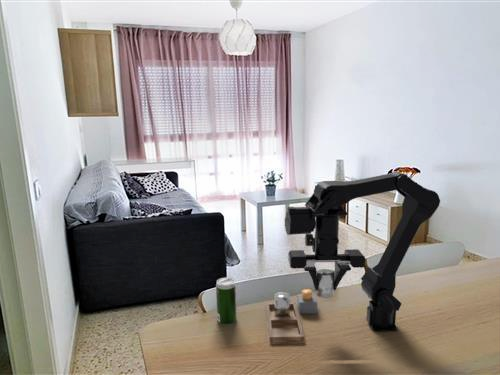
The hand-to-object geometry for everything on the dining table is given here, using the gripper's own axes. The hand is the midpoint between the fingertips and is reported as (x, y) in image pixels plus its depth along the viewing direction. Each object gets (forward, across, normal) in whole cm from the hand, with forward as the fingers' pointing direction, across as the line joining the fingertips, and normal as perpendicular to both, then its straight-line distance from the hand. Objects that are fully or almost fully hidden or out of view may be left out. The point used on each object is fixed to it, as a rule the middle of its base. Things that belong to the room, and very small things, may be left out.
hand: (325, 289), depth 100 cm
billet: (+1, 0, 0) cm, 1 cm away
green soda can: (+12, +26, -5) cm, 29 cm away
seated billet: (+11, +10, -7) cm, 17 cm away
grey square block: (+12, +3, -10) cm, 16 cm away
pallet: (+12, +10, -3) cm, 16 cm away
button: (+8, +3, -10) cm, 13 cm away
